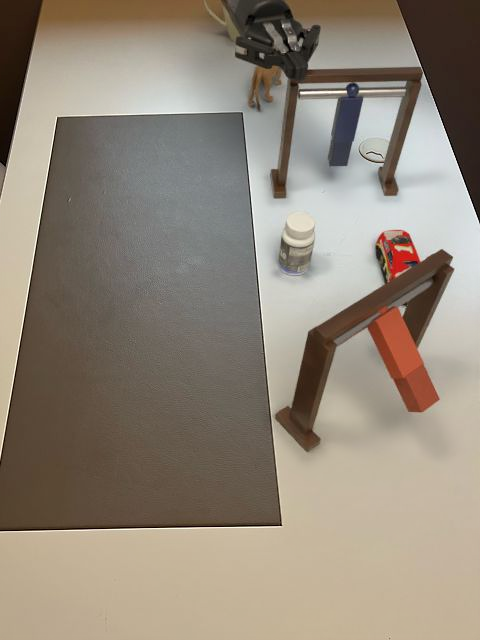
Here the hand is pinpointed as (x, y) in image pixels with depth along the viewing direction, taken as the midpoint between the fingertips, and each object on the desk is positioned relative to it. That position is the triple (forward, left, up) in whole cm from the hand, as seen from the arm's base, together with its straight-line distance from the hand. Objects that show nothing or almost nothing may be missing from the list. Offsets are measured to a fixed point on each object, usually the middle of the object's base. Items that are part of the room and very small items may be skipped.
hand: (300, 74), depth 82 cm
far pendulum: (-6, -8, -17) cm, 20 cm away
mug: (+26, -46, -22) cm, 58 cm away
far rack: (-6, -8, -22) cm, 24 cm away
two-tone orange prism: (-28, +35, -13) cm, 47 cm away
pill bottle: (-6, +12, -22) cm, 26 cm away
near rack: (-20, +31, -22) cm, 42 cm away
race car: (-20, +7, -22) cm, 31 cm away
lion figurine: (+14, -30, -22) cm, 40 cm away
